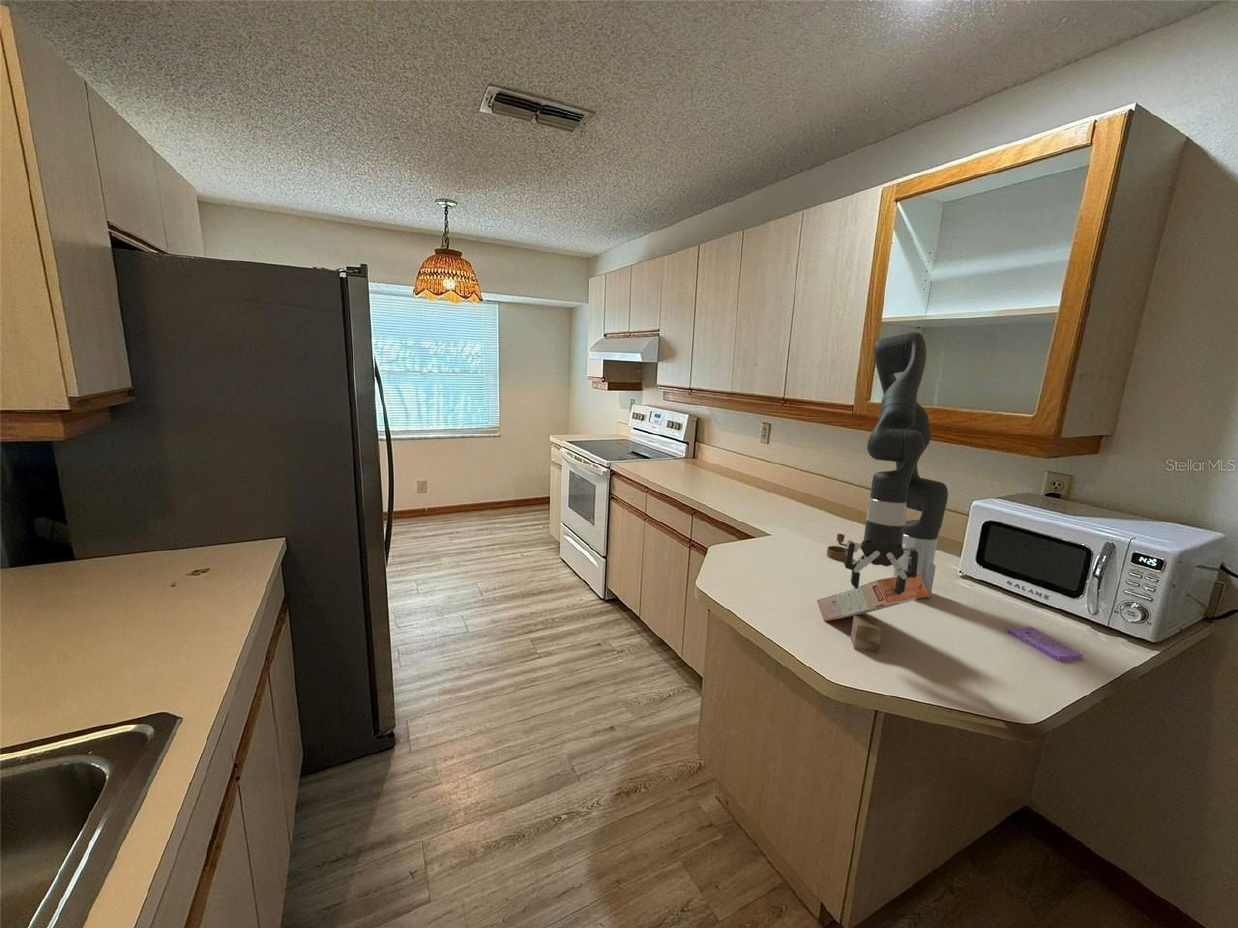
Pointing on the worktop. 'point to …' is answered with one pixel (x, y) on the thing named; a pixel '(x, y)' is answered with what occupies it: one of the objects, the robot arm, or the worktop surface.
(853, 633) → the walnut block
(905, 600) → the cracker box
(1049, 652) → the sponges
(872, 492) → the robot arm
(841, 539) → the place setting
